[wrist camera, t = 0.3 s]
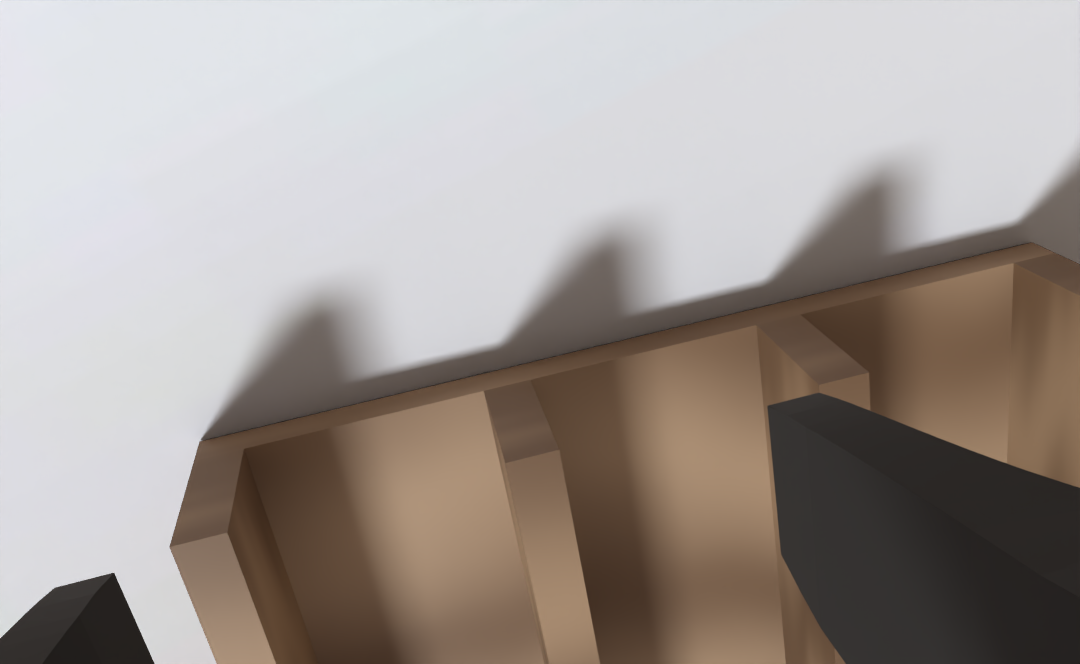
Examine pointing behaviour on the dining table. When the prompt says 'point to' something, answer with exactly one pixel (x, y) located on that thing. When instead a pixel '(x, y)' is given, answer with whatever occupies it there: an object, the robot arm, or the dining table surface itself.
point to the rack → (610, 481)
